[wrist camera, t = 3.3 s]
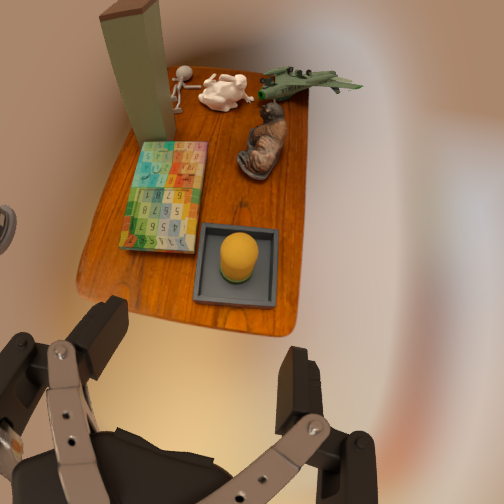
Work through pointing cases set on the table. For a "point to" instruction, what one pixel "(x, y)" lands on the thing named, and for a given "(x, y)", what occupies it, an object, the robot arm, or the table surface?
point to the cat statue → (264, 143)
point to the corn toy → (238, 258)
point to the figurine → (182, 75)
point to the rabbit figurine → (224, 92)
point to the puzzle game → (165, 198)
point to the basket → (225, 294)
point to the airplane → (299, 83)
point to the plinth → (140, 67)
